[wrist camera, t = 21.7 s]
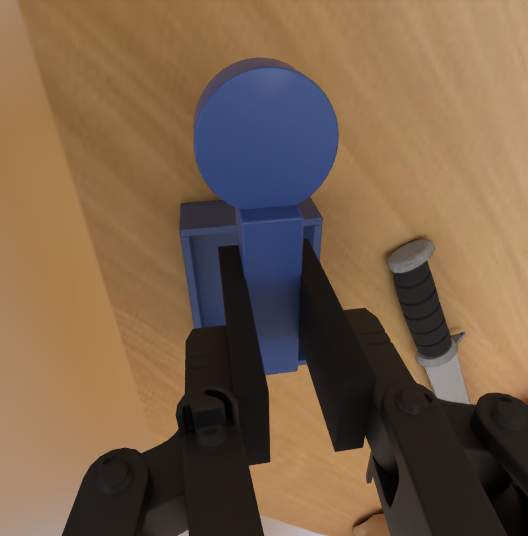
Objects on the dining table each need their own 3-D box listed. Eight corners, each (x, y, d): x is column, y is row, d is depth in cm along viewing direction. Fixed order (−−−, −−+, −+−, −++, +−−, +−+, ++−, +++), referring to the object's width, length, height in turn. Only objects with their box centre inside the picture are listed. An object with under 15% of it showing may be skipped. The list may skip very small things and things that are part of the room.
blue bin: (180, 203, 26) (179, 230, 23) (308, 193, 27) (322, 217, 24) (200, 343, 33) (201, 378, 30) (302, 331, 34) (312, 363, 31)
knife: (425, 225, 31) (369, 259, 31) (450, 241, 29) (390, 278, 29) (483, 423, 47) (446, 446, 47) (503, 444, 44) (464, 468, 44)
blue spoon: (310, 322, 17) (326, 368, 15) (216, 333, 17) (220, 381, 15) (326, 54, 12) (356, 67, 10) (185, 60, 11) (184, 75, 9)
